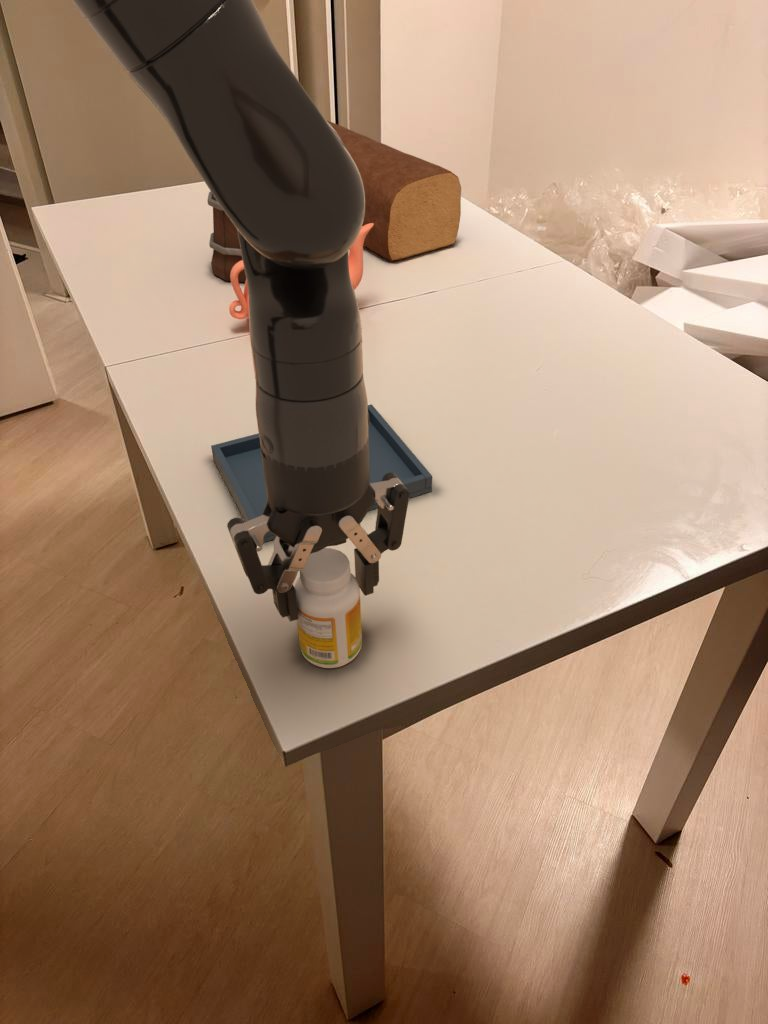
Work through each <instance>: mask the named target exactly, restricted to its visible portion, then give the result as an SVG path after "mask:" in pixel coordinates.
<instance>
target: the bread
mask: <svg viewBox="0 0 768 1024" xmlns="http://www.w3.org/2000/svg"><path fill="white" fill-rule="evenodd" d="M326 121H327V122H328V123H329V124H330V125H331V126H332V127H333V128H334V130H335V131H336V132H337V134H338V135H339V137H340V139H341V140H342V142H343V144H344V145H345V147H346V149H347V150H348V152H349V154H350V155H351V157H352V159H353V160H354V162H355V164H356V166H357V168H358V170H359V172H360V175H361V178H362V181H363V186H364V192H365V215H364V220H363V224H362V226H364V225H366V224H369V223H373V224H374V225H373V227H372V228H371V229H370V230H369V232H368V233H367V235H366V237H365V239H364V243H363V247H365V248H367V249H368V250H370V251H372V252H373V253H375V254H377V255H379V256H381V257H382V258H384V259H386V260H387V261H390V262H393V261H401V260H404V259H408V258H411V257H414V256H418V255H421V254H424V253H428V252H431V251H432V252H433V251H435V250H438V249H442V248H446V247H449V246H451V245H454V244H456V241H457V237H458V233H459V228H460V223H461V214H462V211H461V209H462V208H461V207H462V204H461V203H462V202H461V201H462V200H461V199H462V186H461V181H460V178H459V176H457V175H456V174H455V173H453V172H452V171H451V170H448V169H446V168H445V167H443V166H441V165H438V164H436V163H433V162H430V161H427V160H425V159H423V158H420V157H418V156H415V155H412V154H409V153H406V152H403V151H401V150H398V149H397V148H394V147H392V146H390V145H387V144H385V143H382V142H380V141H377V140H374V139H372V138H370V137H369V136H367V135H364V134H361V133H358V132H356V131H354V130H352V129H349V128H347V127H344V126H342V125H339V124H338V123H335V122H332V121H330V120H326Z"/></svg>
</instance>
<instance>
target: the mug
mask: <svg viewBox="0 0 768 1024" xmlns="http://www.w3.org/2000/svg"><path fill="white" fill-rule="evenodd" d="M207 205H208V206H210V207H212V223H213V225H212V226H213V229H212V230H213V232H212V233H210V237H209V243H208V244H209V248H210V249H212V255H211V256H212V257H211V262H210V263H211V270H212V274H213V275H215V276H217V277H218V278H220V279H222V280H224V281H226V282H227V281H228V282H231V279H230V273H231V270H232V268H233V266H234V265H235V264H236V263H238V262H239V261H241V260H243V259H242V254H241V248H240V243H239V238H238V232H237V228H236V227H235V226H234V224H233V223H232V221H231V220H230V219H229V217H228V216H227V215H226V213H225V212H224V210H223V209H222V207H221V206H220V204H219V203H218V201H217V200H216V198H215V197H214V195H213V194H212V192H211V191H208V195H207ZM238 282H239V283H245V282H246V274H245V270H244V269H243V270H241V271H240V272H239V274H238Z"/></svg>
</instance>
